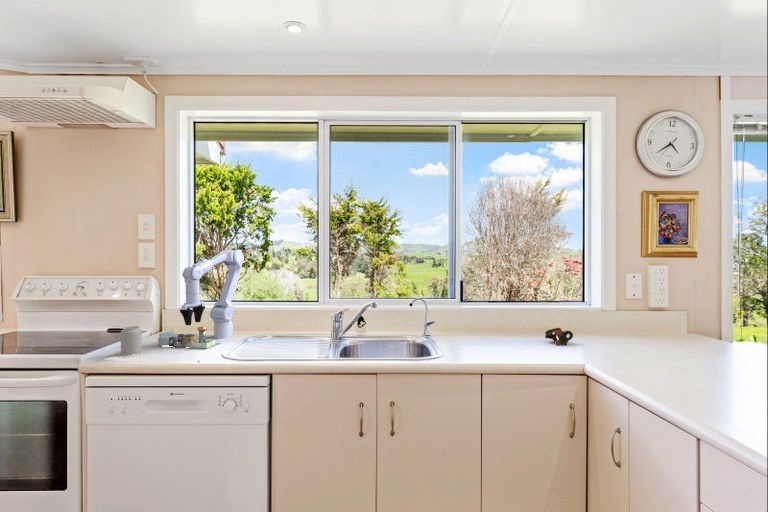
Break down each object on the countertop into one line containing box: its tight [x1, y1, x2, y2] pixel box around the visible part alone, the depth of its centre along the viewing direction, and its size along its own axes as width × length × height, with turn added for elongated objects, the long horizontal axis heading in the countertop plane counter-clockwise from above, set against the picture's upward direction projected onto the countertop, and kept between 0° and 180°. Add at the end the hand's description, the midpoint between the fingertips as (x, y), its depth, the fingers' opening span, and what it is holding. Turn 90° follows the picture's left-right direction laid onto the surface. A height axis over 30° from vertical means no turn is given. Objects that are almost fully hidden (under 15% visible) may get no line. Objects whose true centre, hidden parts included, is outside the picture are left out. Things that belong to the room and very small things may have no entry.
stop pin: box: [197, 326, 208, 343], centre depth 195 cm, size 4×4×8 cm
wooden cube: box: [183, 333, 197, 343], centre depth 202 cm, size 4×4×4 cm
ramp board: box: [173, 342, 222, 350], centre depth 198 cm, size 12×24×3 cm, turn 81°
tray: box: [192, 339, 217, 350], centre depth 195 cm, size 7×7×2 cm
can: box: [120, 325, 143, 356], centre depth 184 cm, size 8×8×12 cm
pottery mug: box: [544, 327, 574, 347], centre depth 205 cm, size 12×10×8 cm
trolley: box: [157, 330, 186, 346], centre depth 199 cm, size 10×7×5 cm
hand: (193, 323), depth 200 cm, fingers open, 7 cm apart
